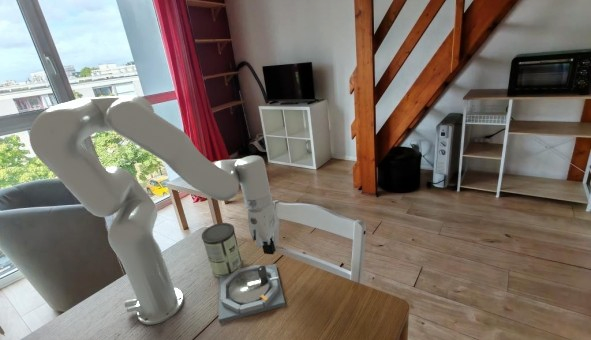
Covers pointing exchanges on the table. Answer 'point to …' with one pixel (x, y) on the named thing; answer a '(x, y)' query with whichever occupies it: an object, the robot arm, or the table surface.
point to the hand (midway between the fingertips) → (269, 252)
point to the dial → (249, 286)
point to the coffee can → (222, 249)
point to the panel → (269, 301)
